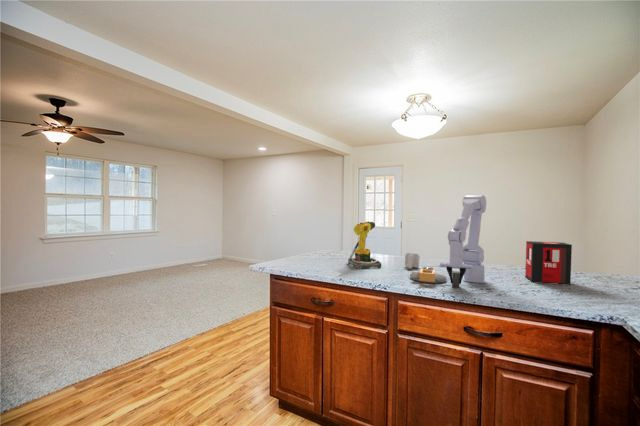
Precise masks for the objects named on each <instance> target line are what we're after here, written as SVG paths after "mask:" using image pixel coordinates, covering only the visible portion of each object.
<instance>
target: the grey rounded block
mask: <svg viewBox="0 0 640 426" xmlns="http://www.w3.org/2000/svg"><path fill="white" fill-rule="evenodd" d="M404 257H405V258H404V266H405V267H406V269H407V270H413V268H417V269H418V268H419V267H420V255H419V254H418V253H410V252H409V253H405V256H404Z"/></svg>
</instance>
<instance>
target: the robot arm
mask: <svg viewBox="0 0 640 426" xmlns="http://www.w3.org/2000/svg"><path fill="white" fill-rule="evenodd" d="M486 210H487V198H486V196H485V195H484V194H482V195H464V196H463V197H462V211H461V214H460V217H458V218H457V219H456V221H455V223H454V225H453V228H452V229H451V230H449V231H448V233H447V239H448V245H449V262H439V268H445V269H446V272H447V274H448V276H449V279H450V284H452V271H453V269H459V273H460V276H459V285H461V284H462V281H463V282H469V283H479V284H480V283H481V284H485V279H486V276H485V264H483V262H484V261H485V256H484V254H485V253H484V252H485V251H484V249H483V248H482V247H481V246H480V245H479V244H480V243H479V241H480V232H481V225H482V224H481V223H482V217H483V214H484V213H486ZM469 219H470V221H469ZM468 227H469V231H468V239H467V229H468ZM466 239H467V244H465V245H464V243H465V241H466Z"/></svg>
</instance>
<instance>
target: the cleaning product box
mask: <svg viewBox="0 0 640 426" xmlns="http://www.w3.org/2000/svg"><path fill="white" fill-rule="evenodd" d="M525 242H526V244H525V245H526V247H525V275H524V277H525V279H526V278H527V279H528V281H529V280H530V281H531V282H530V281H529V282H530V283H534V282H542V283H541V284H548V283H558V284H557V285H562V284H569V285H568V286H571V280H572V279H571V278H572V277H571V275H572V251H573V248H572V247H573V245H572V244H570V243H567V242H558V241H557V242H556V241H554V242H553V241H531V240H529V241H528V240H527V241H525ZM527 279H526V280H527Z"/></svg>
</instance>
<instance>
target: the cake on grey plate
mask: <svg viewBox="0 0 640 426" xmlns="http://www.w3.org/2000/svg"><path fill="white" fill-rule="evenodd" d="M422 269H426V270H434V267H432V266H423V268H422ZM409 275H410V276H409V279H411V281H414V282H417V283H422V284H431V285H432V284H433V285H435V284H438V283H439V284H443V283H444V282H445V283H446V282H447V277H446V276H445V275H443V274H439V273H435V281H434V282H428V281H419V278H418V277H412V273H410V274H409Z"/></svg>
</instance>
